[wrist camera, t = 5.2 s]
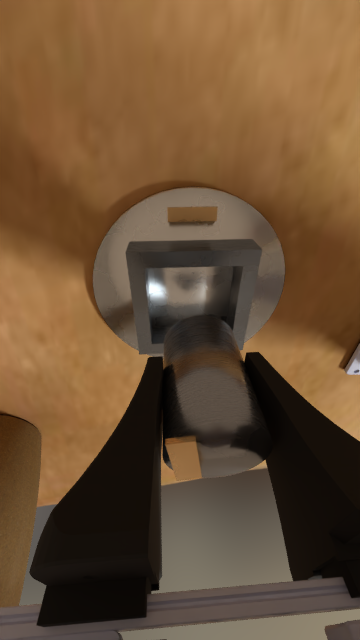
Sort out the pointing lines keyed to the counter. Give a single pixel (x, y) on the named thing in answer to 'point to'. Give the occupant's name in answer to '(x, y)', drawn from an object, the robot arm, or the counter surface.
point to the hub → (187, 266)
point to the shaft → (209, 403)
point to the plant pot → (17, 502)
